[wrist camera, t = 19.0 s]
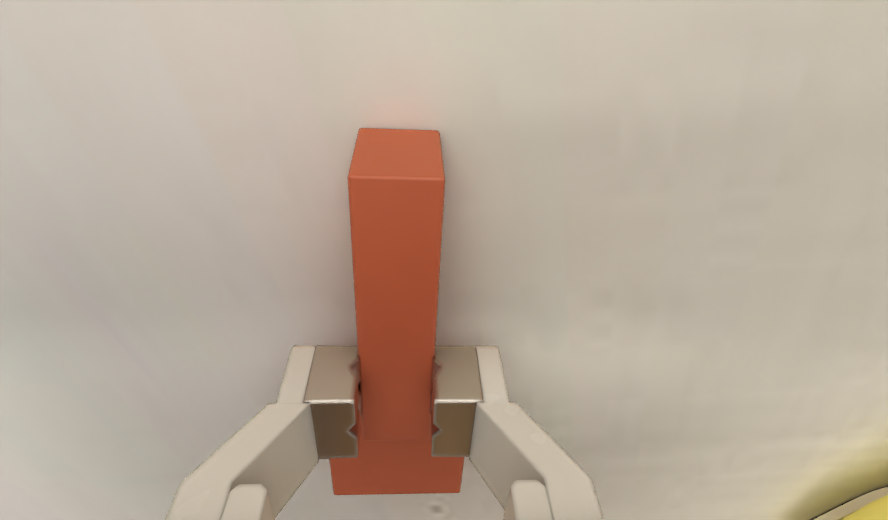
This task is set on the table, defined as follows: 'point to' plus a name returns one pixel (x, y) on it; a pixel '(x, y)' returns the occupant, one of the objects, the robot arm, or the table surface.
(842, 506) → the emoji
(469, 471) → the table surface
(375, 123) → the table surface
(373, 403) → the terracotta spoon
